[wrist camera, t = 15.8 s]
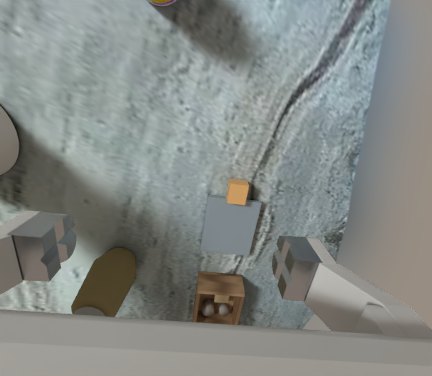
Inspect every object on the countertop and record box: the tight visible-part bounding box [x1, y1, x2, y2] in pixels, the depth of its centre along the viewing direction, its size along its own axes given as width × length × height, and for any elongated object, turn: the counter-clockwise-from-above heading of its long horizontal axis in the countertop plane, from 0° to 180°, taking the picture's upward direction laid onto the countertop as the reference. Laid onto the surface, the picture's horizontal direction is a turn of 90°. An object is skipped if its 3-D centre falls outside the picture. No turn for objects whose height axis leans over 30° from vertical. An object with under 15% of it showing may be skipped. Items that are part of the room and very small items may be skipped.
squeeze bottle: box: [71, 247, 136, 317], centre depth 37 cm, size 8×8×18 cm
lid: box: [200, 178, 262, 256], centre depth 41 cm, size 9×15×3 cm, turn 172°
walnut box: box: [193, 271, 245, 325], centre depth 47 cm, size 9×11×5 cm
